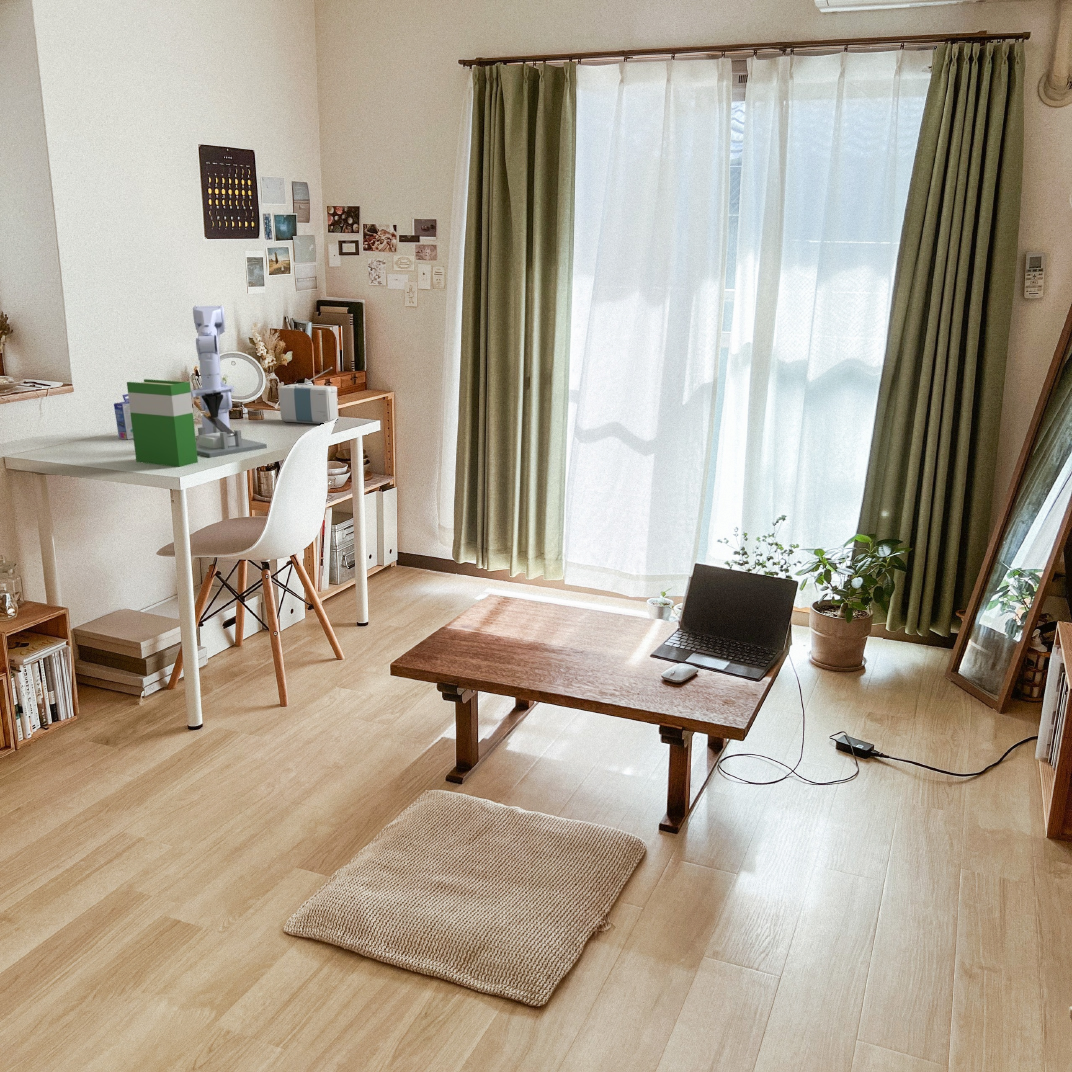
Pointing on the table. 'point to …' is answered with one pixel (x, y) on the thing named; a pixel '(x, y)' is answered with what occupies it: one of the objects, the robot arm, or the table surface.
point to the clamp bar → (219, 425)
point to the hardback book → (162, 422)
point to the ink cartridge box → (123, 419)
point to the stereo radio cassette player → (308, 403)
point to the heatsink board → (223, 443)
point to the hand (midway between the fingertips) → (214, 417)
